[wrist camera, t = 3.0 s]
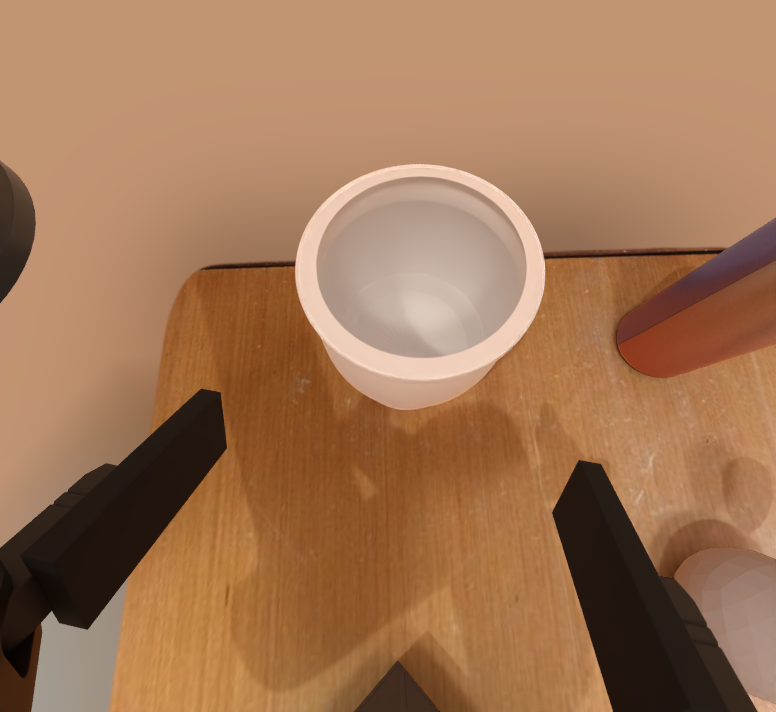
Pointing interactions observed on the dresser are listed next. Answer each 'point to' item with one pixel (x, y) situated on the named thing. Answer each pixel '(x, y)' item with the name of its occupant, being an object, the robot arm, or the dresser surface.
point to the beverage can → (707, 312)
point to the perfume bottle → (738, 610)
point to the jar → (419, 281)
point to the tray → (397, 694)
